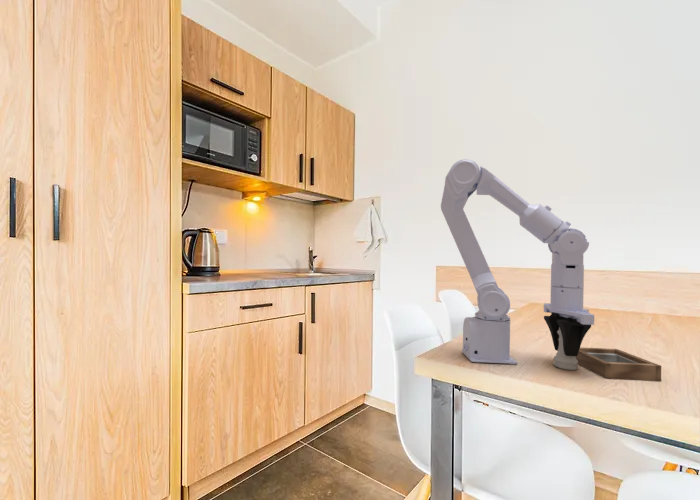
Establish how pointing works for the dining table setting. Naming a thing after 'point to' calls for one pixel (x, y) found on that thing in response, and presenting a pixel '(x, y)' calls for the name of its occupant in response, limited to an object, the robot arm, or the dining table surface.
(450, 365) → the dining table surface
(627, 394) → the dining table surface
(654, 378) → the box
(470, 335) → the robot arm
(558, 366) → the rook chess piece
